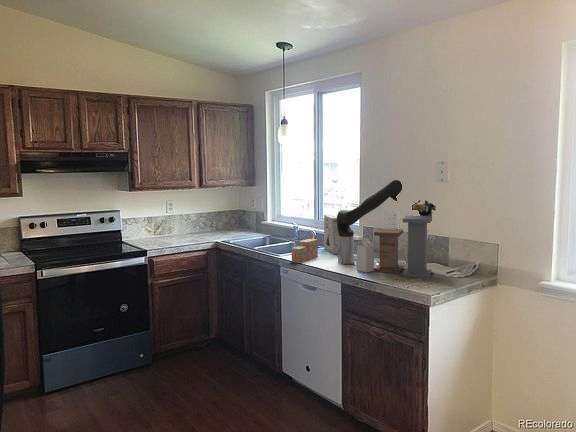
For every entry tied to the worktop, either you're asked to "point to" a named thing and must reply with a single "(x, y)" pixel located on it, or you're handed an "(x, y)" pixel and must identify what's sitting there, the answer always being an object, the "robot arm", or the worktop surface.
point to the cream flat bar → (419, 206)
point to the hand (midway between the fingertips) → (422, 201)
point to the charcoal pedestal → (417, 246)
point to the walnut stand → (388, 250)
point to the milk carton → (365, 256)
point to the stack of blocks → (305, 251)
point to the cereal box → (331, 233)
